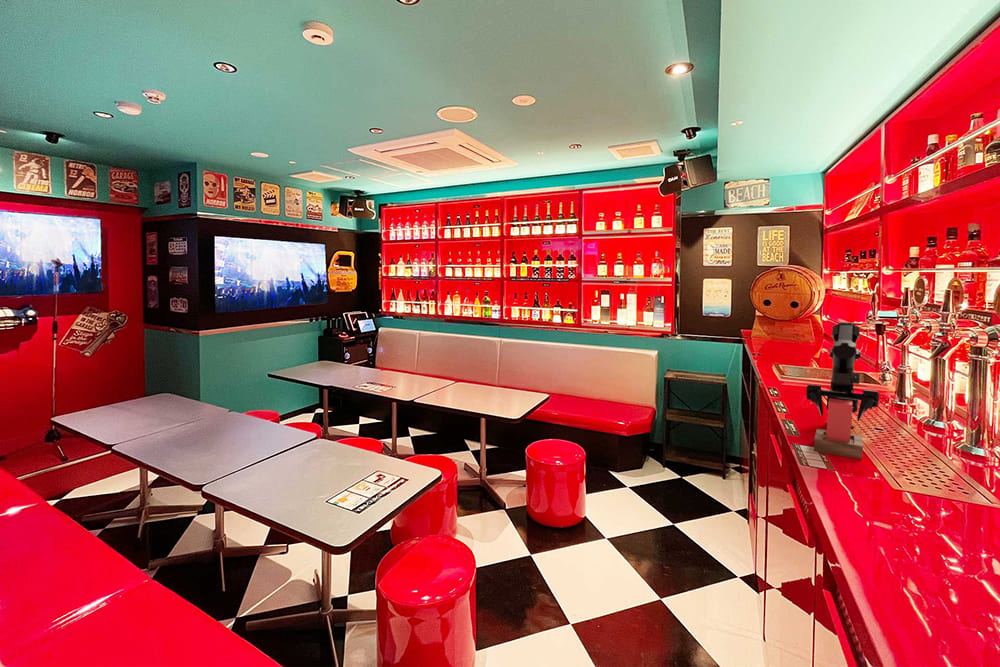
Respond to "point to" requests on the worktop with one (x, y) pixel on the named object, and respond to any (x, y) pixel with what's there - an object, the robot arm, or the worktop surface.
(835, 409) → the red brick
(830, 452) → the walnut base
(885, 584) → the worktop surface
